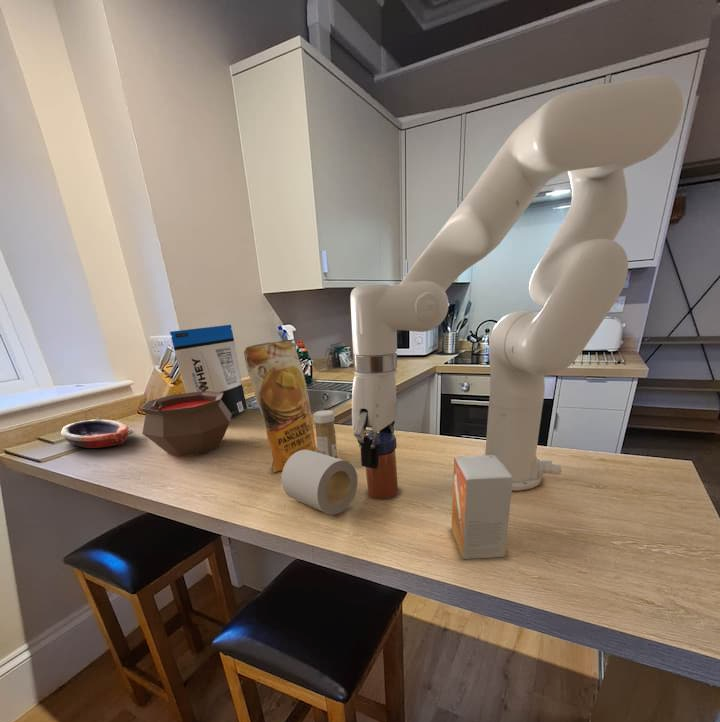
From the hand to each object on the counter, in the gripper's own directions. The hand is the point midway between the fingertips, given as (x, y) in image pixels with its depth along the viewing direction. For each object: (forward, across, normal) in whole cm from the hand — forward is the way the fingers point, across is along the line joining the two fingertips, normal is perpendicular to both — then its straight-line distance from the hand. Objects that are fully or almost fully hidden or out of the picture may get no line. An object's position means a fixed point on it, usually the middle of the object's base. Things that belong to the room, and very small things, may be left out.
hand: (378, 459), depth 75 cm
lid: (-4, 0, 0) cm, 4 cm away
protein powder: (+8, -35, -78) cm, 86 cm away
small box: (+7, +10, +22) cm, 25 cm away
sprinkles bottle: (+8, -7, -16) cm, 19 cm away
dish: (+9, -2, -98) cm, 99 cm away
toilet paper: (+8, +8, -8) cm, 14 cm away
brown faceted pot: (+8, -8, -61) cm, 62 cm away
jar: (+7, 0, +1) cm, 7 cm away
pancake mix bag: (+8, -9, -28) cm, 30 cm away
